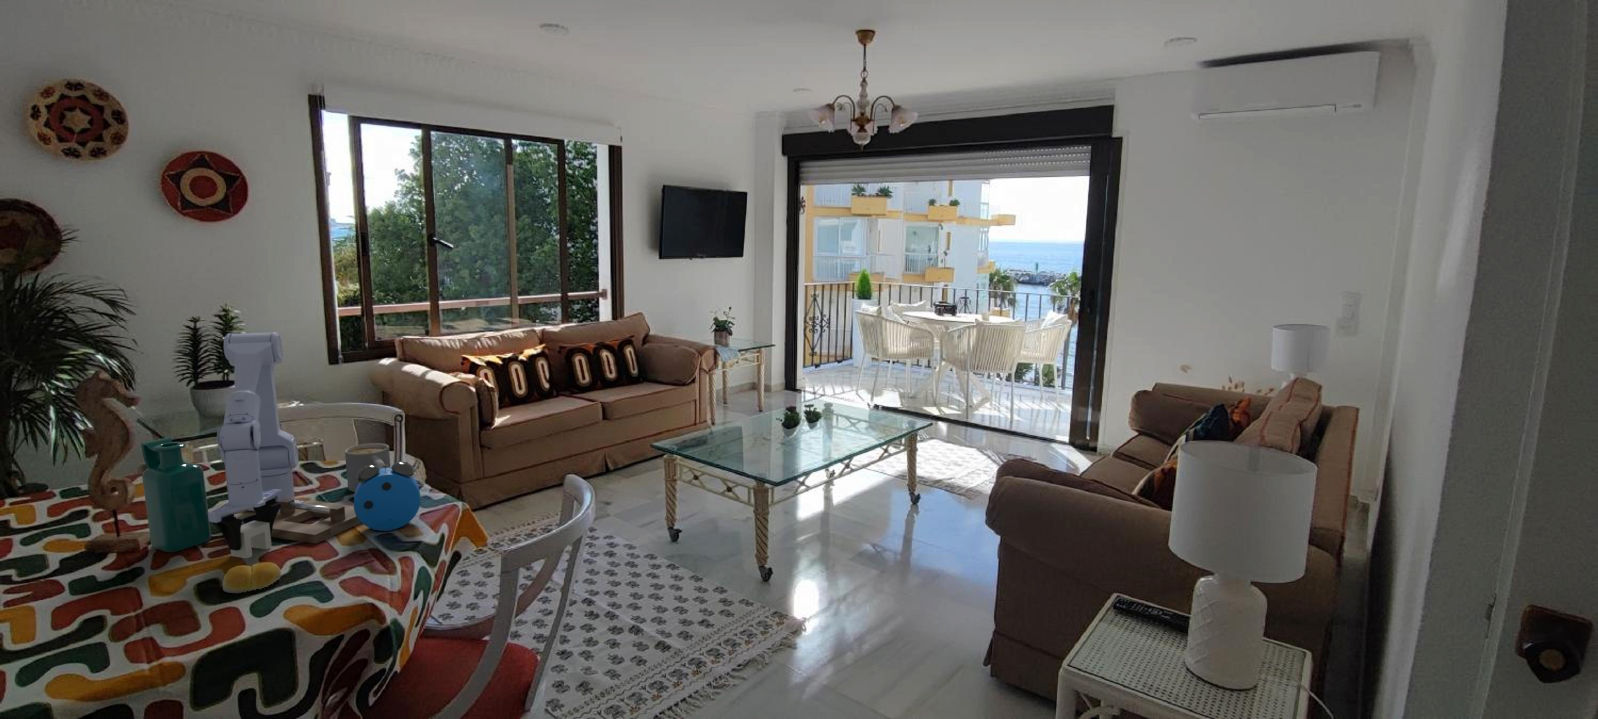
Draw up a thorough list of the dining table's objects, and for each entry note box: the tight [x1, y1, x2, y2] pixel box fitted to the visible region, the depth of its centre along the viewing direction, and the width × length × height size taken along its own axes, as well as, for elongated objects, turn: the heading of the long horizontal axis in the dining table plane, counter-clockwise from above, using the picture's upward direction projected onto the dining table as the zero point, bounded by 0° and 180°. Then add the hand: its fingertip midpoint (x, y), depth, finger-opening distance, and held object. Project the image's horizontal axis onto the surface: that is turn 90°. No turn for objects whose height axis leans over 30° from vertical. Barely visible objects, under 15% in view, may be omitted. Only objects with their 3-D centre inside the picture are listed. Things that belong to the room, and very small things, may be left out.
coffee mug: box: [344, 442, 392, 493], centre depth 197 cm, size 13×10×10 cm
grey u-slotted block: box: [230, 520, 272, 559], centre depth 158 cm, size 4×6×6 cm
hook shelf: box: [271, 499, 362, 544], centre depth 173 cm, size 18×16×5 cm
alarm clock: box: [353, 460, 422, 532], centre depth 172 cm, size 13×6×15 cm, turn 119°
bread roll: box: [222, 561, 282, 594], centre depth 145 cm, size 8×9×4 cm
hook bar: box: [288, 502, 331, 514], centre depth 172 cm, size 14×1×1 cm, turn 76°
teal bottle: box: [140, 437, 212, 553], centre depth 160 cm, size 10×8×22 cm
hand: (250, 542), depth 159 cm, fingers open, 6 cm apart
